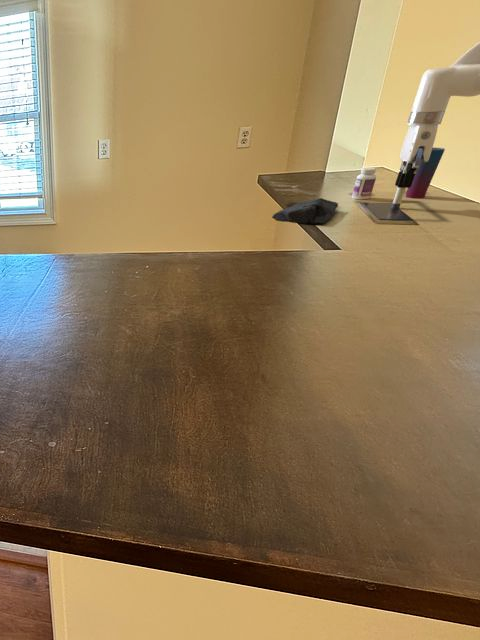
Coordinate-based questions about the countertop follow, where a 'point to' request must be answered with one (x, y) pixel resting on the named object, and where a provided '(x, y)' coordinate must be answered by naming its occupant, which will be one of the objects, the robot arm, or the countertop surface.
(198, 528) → the countertop surface
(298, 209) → the dark slate chunk
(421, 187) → the cup
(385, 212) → the tablet
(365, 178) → the pill bottle
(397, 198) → the stylus
